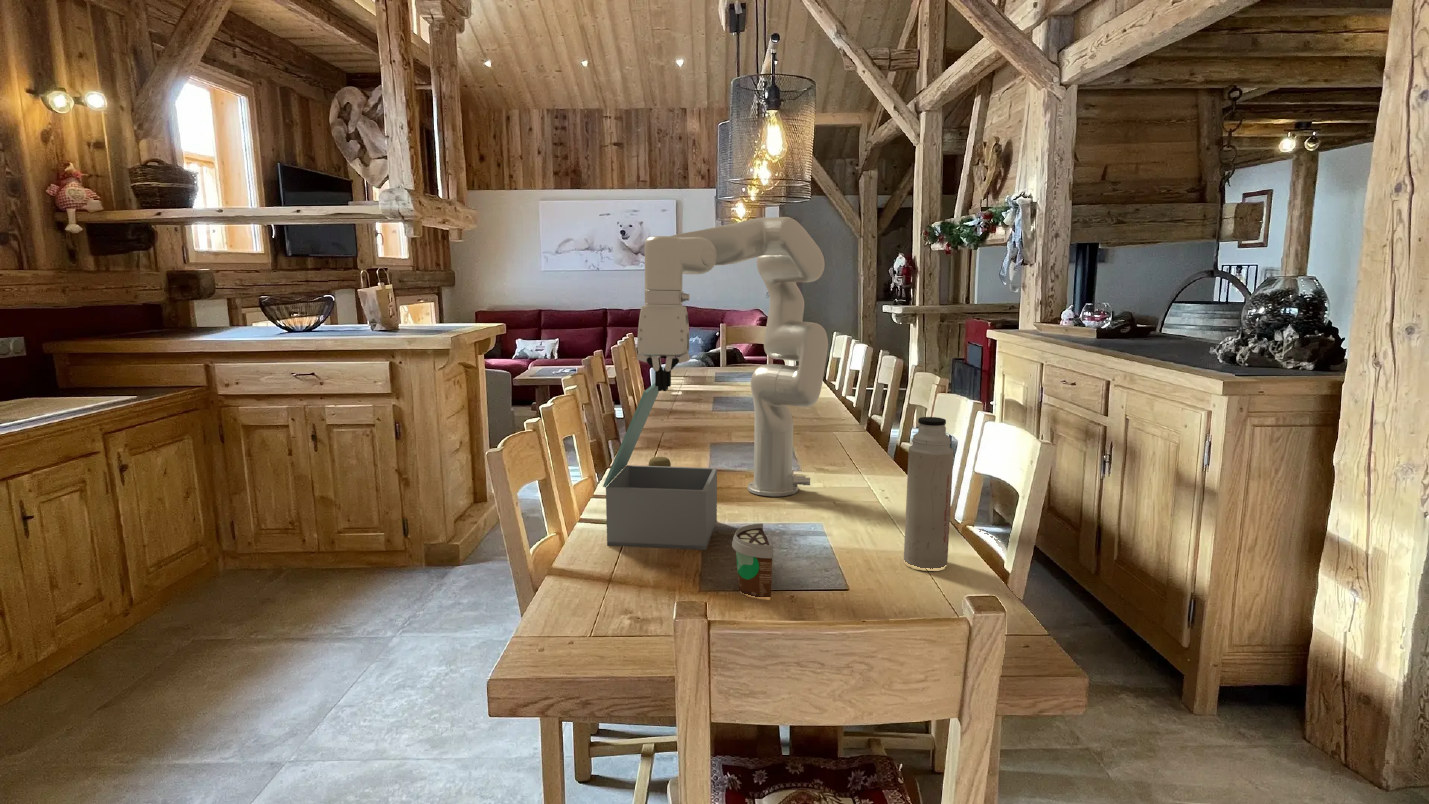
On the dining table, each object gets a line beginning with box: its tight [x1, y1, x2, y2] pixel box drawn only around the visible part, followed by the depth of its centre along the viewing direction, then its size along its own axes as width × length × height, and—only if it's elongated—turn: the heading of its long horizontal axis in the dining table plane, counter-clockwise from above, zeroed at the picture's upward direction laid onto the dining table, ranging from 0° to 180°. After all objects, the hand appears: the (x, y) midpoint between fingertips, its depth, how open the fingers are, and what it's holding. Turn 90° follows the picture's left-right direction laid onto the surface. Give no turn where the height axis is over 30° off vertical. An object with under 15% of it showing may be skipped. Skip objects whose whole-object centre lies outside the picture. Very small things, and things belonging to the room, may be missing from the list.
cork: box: [647, 456, 672, 467], centre depth 186 cm, size 6×6×11 cm
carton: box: [605, 464, 718, 551], centre depth 165 cm, size 20×18×12 cm
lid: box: [602, 383, 660, 489], centre depth 163 cm, size 21×19×1 cm
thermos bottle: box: [903, 416, 955, 569], centre depth 146 cm, size 8×8×28 cm
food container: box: [731, 523, 774, 598], centre depth 136 cm, size 12×6×10 cm, turn 5°
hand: (663, 389), depth 160 cm, fingers closed
